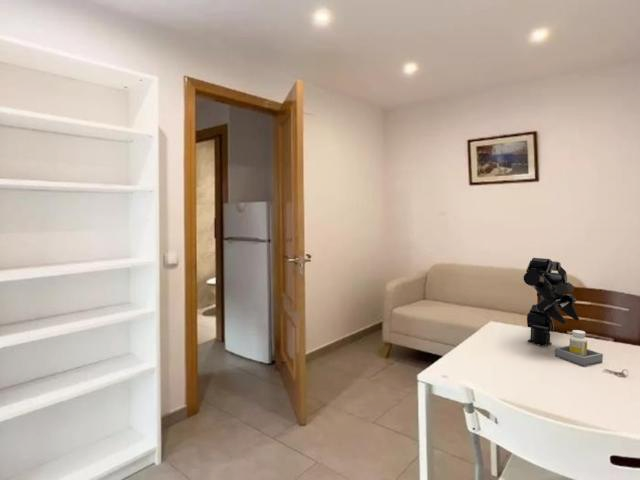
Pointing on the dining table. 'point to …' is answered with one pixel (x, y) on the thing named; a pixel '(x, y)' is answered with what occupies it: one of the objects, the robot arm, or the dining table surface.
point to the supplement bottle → (578, 343)
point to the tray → (582, 361)
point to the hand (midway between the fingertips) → (571, 321)
